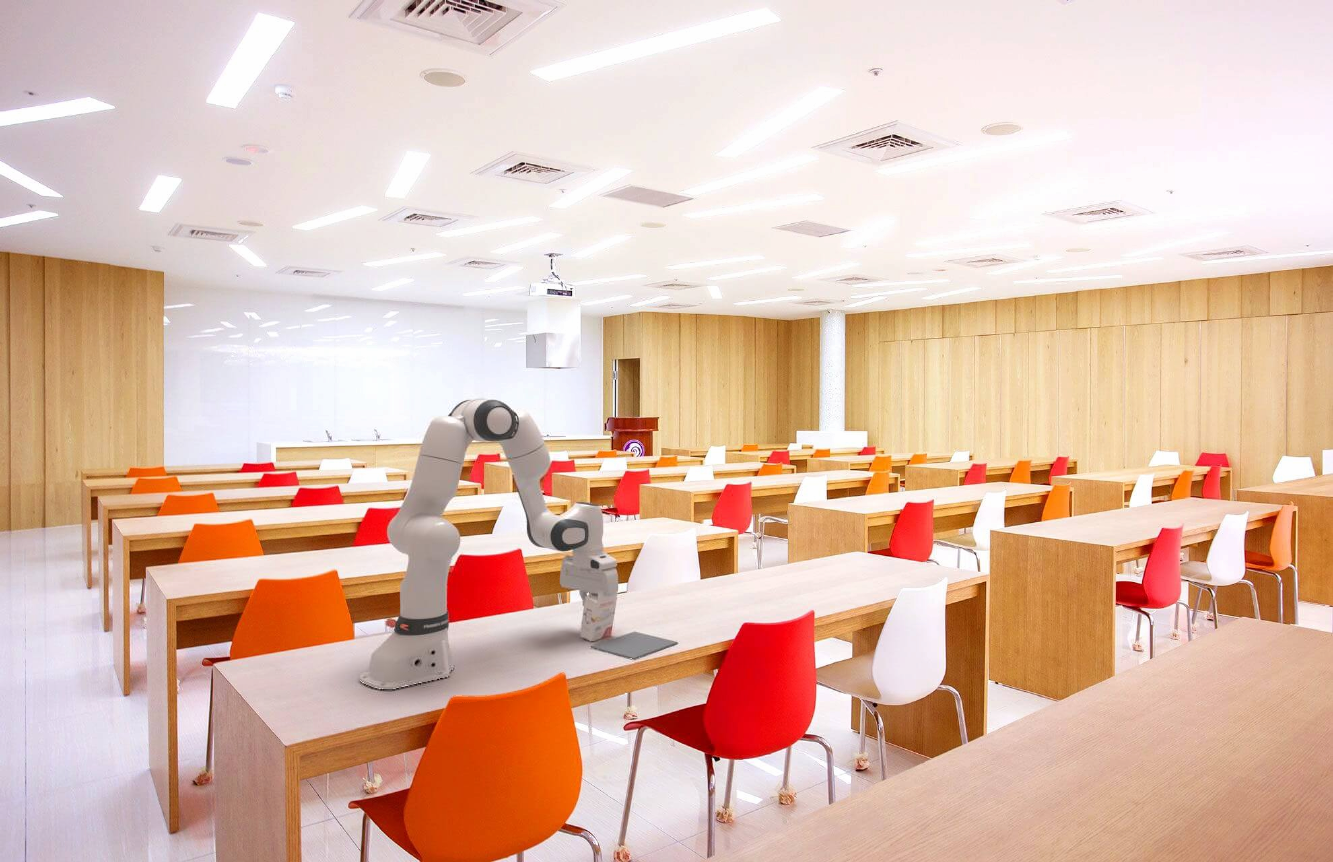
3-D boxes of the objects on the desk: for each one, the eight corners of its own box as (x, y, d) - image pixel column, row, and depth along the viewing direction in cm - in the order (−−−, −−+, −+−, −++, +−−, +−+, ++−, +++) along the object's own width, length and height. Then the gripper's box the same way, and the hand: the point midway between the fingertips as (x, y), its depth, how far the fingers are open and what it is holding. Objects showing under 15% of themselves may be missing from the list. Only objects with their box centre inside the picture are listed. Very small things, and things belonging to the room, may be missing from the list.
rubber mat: (634, 659, 210) (634, 658, 210) (590, 648, 220) (590, 646, 220) (677, 643, 224) (677, 642, 224) (634, 633, 234) (634, 631, 234)
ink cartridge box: (599, 629, 235) (606, 580, 233) (611, 635, 232) (619, 586, 230) (578, 635, 228) (586, 586, 226) (591, 642, 225) (599, 592, 223)
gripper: (554, 555, 235) (555, 603, 236) (606, 564, 222) (606, 614, 223) (570, 552, 240) (570, 599, 241) (621, 561, 227) (622, 610, 228)
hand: (588, 606), depth 232 cm, fingers closed
